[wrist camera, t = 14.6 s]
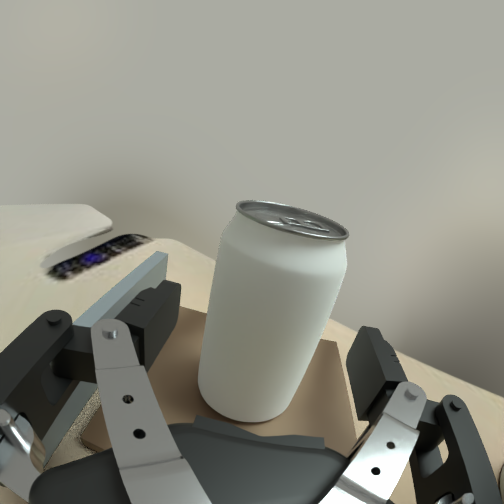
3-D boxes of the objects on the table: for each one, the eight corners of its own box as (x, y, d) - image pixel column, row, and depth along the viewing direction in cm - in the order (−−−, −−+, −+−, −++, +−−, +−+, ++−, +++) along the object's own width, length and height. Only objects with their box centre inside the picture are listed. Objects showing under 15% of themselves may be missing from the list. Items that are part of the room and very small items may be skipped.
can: (194, 355, 20) (220, 192, 15) (276, 358, 21) (322, 210, 17) (201, 427, 14) (239, 226, 10) (302, 421, 15) (384, 249, 11)
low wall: (164, 298, 28) (168, 254, 26) (36, 479, 7) (-5, 434, 5) (153, 295, 28) (156, 251, 26) (20, 467, 7) (-21, 419, 5)
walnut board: (332, 349, 25) (336, 341, 25) (357, 502, 10) (365, 496, 10) (170, 312, 26) (170, 303, 25) (84, 444, 11) (80, 437, 10)
